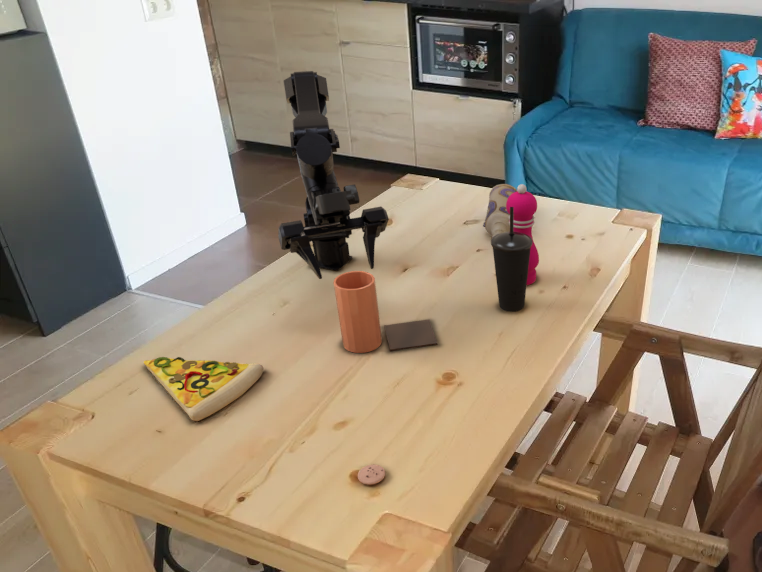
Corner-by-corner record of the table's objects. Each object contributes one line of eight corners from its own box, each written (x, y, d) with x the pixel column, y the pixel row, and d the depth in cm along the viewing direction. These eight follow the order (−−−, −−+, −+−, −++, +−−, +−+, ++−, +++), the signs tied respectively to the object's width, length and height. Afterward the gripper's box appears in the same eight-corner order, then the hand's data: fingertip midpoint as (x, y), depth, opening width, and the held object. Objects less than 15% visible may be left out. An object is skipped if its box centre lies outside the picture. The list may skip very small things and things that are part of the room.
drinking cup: (484, 309, 143) (482, 211, 132) (503, 292, 149) (502, 196, 137) (520, 319, 140) (521, 219, 129) (538, 301, 146) (540, 203, 134)
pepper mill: (497, 283, 152) (496, 188, 140) (511, 268, 157) (511, 175, 146) (531, 290, 150) (533, 194, 138) (543, 274, 155) (546, 180, 143)
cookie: (388, 467, 107) (387, 461, 106) (382, 486, 104) (382, 481, 103) (361, 466, 107) (360, 460, 107) (355, 485, 104) (354, 480, 103)
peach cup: (336, 348, 132) (325, 285, 125) (355, 329, 137) (346, 268, 130) (370, 356, 130) (362, 292, 123) (388, 336, 136) (381, 274, 128)
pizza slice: (203, 426, 115) (198, 410, 113) (108, 390, 122) (102, 375, 120) (272, 374, 126) (268, 359, 124) (181, 344, 133) (177, 330, 131)
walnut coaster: (390, 351, 132) (390, 349, 131) (384, 327, 138) (384, 325, 138) (437, 344, 133) (437, 342, 133) (429, 321, 140) (429, 319, 140)
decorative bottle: (489, 208, 183) (488, 182, 179) (519, 209, 183) (520, 183, 179) (478, 255, 162) (478, 226, 158) (513, 256, 162) (514, 228, 158)
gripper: (269, 178, 122) (294, 267, 120) (380, 161, 128) (405, 246, 127) (269, 207, 132) (292, 289, 130) (371, 190, 139) (395, 269, 137)
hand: (347, 273), depth 131 cm, fingers open, 9 cm apart
